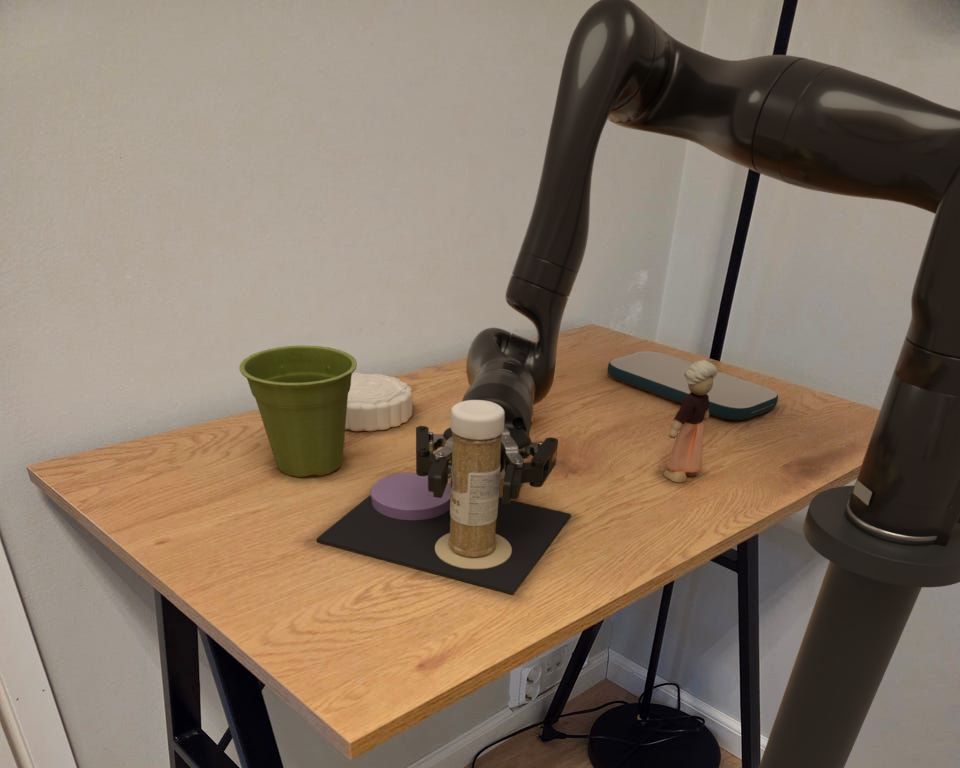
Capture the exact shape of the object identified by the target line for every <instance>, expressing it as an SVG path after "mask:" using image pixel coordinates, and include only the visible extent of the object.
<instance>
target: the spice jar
mask: <svg viewBox="0 0 960 768" xmlns="http://www.w3.org/2000/svg"><path fill="white" fill-rule="evenodd" d="M504 418H505V412H504V410H503V408H502V407H501V406H499V405H498V404H496V403H493V402H490V401H484V400H467V401H462V400H461V401H459V402H457V403H455V404H453V406H452V407H451V409H450V427H451V430H452V435H453V438H452V440H453V442H452V443H453V447H452V467H451V477H450V485H451V497H450V516H451V522H450V537H449V546H450V548H451V549H452V551H454V552H455V553H457V554H459V555H462V556H466V557H478V556H484V555H487V554H490V553H491V552H493V551H494V549H495V548H496V539H495V531H496V519H497V513H498V499H499V497H500V484H501V483H500V482H501V477H500V466H501V465H500V452H501V437H502V435H503V431H504Z"/></svg>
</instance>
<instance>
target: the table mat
mask: <svg viewBox="0 0 960 768" xmlns="http://www.w3.org/2000/svg"><path fill="white" fill-rule="evenodd" d="M571 516H572V513H569V512H565V511H561V510H555V509H551V508H547V507H544V506H539V505H534V504H530V503H526V502H521V501H517V500H512V499H511V501H510V505H508V504H502V497H500V496H499V499H498V513H497V519H496V531H495V539H496V548H495V549H494V551H493V552H491V553H490V554H487V555H484V556H478V557H466V556H462V555H459V554H457V553H455V552H454V551H452V549H451V548H450V546H449V537H450V522H451V516H450V509H449V510H448V511H447V512H446V513H444V514H442V515H440V516H437V517H434V518H431V519H425V520H400V519H395V518H391V517H388V516H385V515H383V514H381V513H379V512H378V511H376V510H375V509H374V507H373V506H372V503H371V494H369V495H368V496H367V497H366V498H364V499H363V500H362V501H361V502H359V503H358V504H357V505H355V507H353V508H352V509H351V510H349V511H348V512H347V513H346V514H345V515H343V516H342V517H341V518H340V519H338V521H336V522H334V524H332V525H331V526H330V527H328V529H326V530H325V531H324V532H323V533H321V534H320V535H319V536H318V537H316V538H315V539H316V543H318V544H321V545H326V546H329V547H334V548H336V549H341V550H345V551H348V552H352V553H356V554H360V555H363V556H367V557H371V558H375V559H378V560H382V561H385V562H389V563H393V564H396V565H401V566H404V567H408V568H412V569H416V570H419V571H423V572H427V573H430V574H434V575H438V576H441V577H445V578H449V579H454V580H456V581H460V582H462V583H463V582H464V583H467V584H471V585H474V586H479V587H482V588H486V589H489V590H492V591H497V592H501V593H505V594H509V595H511V596H513V595H514V594H515V593H516V592H517V590H518V589H519V587H520V586H521V584H522V583H523V582H524V581H525V579H526V578H527V576H528V575H529V574H530V573H531V571H532V570H533V569H534V567H535V566H536V565H537V563H538V562H539V560H541V558H542V557H543V555H544V554H545V553H546V551H547V550H548V549H549V547H550V546H551V544H552V543H553V542H554V540H555V539H556V538H557V536H558V535H559V534H560V532H561V531H562V530H563V529H564V527H565V525H566V524H567V523H568V522H569V520H570V519H571V518H572V517H571Z"/></svg>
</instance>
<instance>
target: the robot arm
mask: <svg viewBox="0 0 960 768" xmlns="http://www.w3.org/2000/svg"><path fill="white" fill-rule="evenodd" d="M607 121H609V122H610V123H613V124H614V125H616V126H619V127H622V128H626V129H631V130H636V131H641V132H647V133H653V134H659V135H662V136H667V137H668V136H669V137H673V138H676V139H677V138H679V139H682V140H685V141H689V142H693V143H695V144H697V145H699V146H701V147H703V148H705V149H707V150H709V151H710V152H712V153H713V154H716V155H717V156H719V157H722V158H723V159H726V160H727V161H730V162H732V163H734V164H736V165H739V166H742V167H744V168H746V169H749V170H751V171H753V172H756V173H757V174H760V175H763V176H766V177H769V178H770V179H774V180H776V181H780V182H782V183H785V184H788V185H791V186H793V187H798V188H803V189H806V190H810V191H815V192H821V193H826V194H833V195H838V196H839V195H840V196H846V197H854V198H862V199H871V200H881V201H889V202H894V203H899V204H900V203H901V204H905V205H908V206H912V207H916V208H918V209H921V210H924V211H927V212H929V213H932V214H934V218H933V221H932V224H931V227H930V230H929V234H928V237H927V240H926V244H925V247H924V251H923V255H922V257H921V260H920V264H919V267H918V271H917V274H916V277H915V281H914V284H913V288H912V293H911V298H910V299H911V300H910V309H911V310H910V311H911V317H910V322H909V325H908V328H907V332H906V335H905V337H904V340H903V343H902V346H901V348H900V351H899V354H898V358H897V360H896V363H895V366H894V369H893V372H892V375H891V378H890V381H889V384H888V386H887V389H886V393H885V395H884V398H883V401H882V404H881V407H880V409H879V410H880V411H879V412H878V416H877V418H876V422H875V425H874V427H873V430H872V433H871V436H870V439H869V443H868V446H867V448H866V451H865V454H864V457H863V459H862V463H861V466H860V468H859V471H858V473H857V474H858V475H857V478H856V481H855V482H854V483H855V484H854V485H855V486H854V485H853V486H854V489H853V490H852V493H851V496H850V499H849V501H848V503H847V506H846V509H845V515H846V518H847V519H848V521H849V522H850V523H851V524H852V525H854V526H855V527H856V528H858V529H859V530H861V531H863V532H865V533H867V534H869V535H871V536H873V537H876V538H879V539H882V540H885V541H889V542H893V543H898V544H904V545H914V546H923V545H933V544H934V545H940V546H947V544H948V541H949V539H950V537H951V534H952V532H953V530H954V528H955V525H956V523H959V524H960V110H959V109H955V108H953V107H952V108H951V107H948V106H945V105H942V104H940V103H937V102H935V101H931V100H929V99H927V98H925V97H922V96H920V95H918V94H916V93H912V92H910V91H908V90H906V89H904V88H900V87H898V86H895V85H892V84H890V83H887V82H884V81H882V80H879V79H876V78H873V77H870V76H868V75H863V74H861V73H858V72H856V71H852V70H849V69H847V68H843V67H841V66H836V65H832V64H828V63H825V62H821V61H818V60H817V61H816V60H814V59H809V58H806V57H801V56H796V55H788V54H787V55H786V54H769V55H761V56H756V57H751V58H746V59H739V60H731V59H730V60H729V59H723V58H721V57H720V58H719V57H716V56H713V55H711V54H708V53H705V52H703V51H700V50H697V49H696V48H693V47H691V46H689V45H687V44H685V43H682V42H681V41H680V40H677V39H676V38H674V37H673V36H671V35H670V34H669V33H668V32H667V31H665V29H663V28H662V27H661V26H660V25H659V24H658V23H657V22H656V21H655V20H654V19H653V18H652V17H651V16H649V14H647V13H646V11H644V10H643V9H642V8H641V7H639V6H638V5H637V4H636V3H635V2H633V1H632V0H598V1H596V2H594V4H592V5H591V6H590V7H589V8H588V9H587V10H586V11H585V13H584V14H583V15H582V17H581V18H580V19H579V21H578V23H577V25H576V26H575V28H574V30H573V32H572V34H571V36H570V40H569V43H568V46H567V49H566V53H565V57H564V61H563V65H562V68H561V74H560V78H559V84H558V88H557V94H556V99H555V105H554V110H553V114H552V119H551V123H550V128H549V134H548V138H547V144H546V148H545V154H544V158H543V164H542V170H541V175H540V179H539V180H540V181H539V183H538V188H537V193H536V196H535V200H534V204H533V208H532V211H531V215H530V219H529V222H528V225H527V228H526V231H525V235H524V237H523V240H522V242H521V245H520V248H519V252H518V255H517V257H516V260H515V263H514V265H513V269H512V272H511V275H510V277H509V280H508V284H507V286H506V289H505V296H504V297H505V302H506V303H507V305H508V306H509V307H510V308H512V309H513V310H514V311H516V312H517V313H519V314H521V316H524V317H525V318H526V319H527V320H529V321H530V322H531V323H532V325H534V327H535V329H536V333H537V335H536V336H537V338H536V341H533V340H532V339H529V338H526V337H523V336H521V335H518V334H515V333H513V332H511V331H508V330H506V329H503V328H500V327H488V328H484V329H483V330H481V331H480V332H478V333H477V334H476V336H475V337H474V338H473V339H472V341H471V344H470V346H469V349H468V352H467V357H466V377H467V382H468V385H469V386H468V388H467V389H466V391H465V393H464V395H463V398H462V400H461V402H462V401H467V400H484V401H490V402H493V403H496V404H498V405H499V406H501V407H502V408H503V410H504V412H505V418H504V431H503V435H502V437H501V452H500V465H501V466H500V480H502V492H501V498H502V504H508V505H510V501H511V500H513V501H517V500H518V499H519V498H520V494H521V489H522V487H523V486H524V484H527V483H528V484H529V486H530V487H533V488H541V487H543V485H545V482H546V481H547V479H548V478H549V476H550V475H551V473H552V471H553V470H554V469H555V467H556V465H557V458H558V457H557V456H558V446H559V439H558V438H556V437H553V436H552V437H546V438H545V439H544V441H538V442H532V438H531V437H530V436H529V435H530V431H531V429H532V426H533V417H534V405H537V404H539V403H541V402H542V401H543V400H544V399H545V398H546V397H547V396H548V395H549V393H550V392H551V389H552V386H553V384H554V379H555V374H556V363H557V351H558V344H559V335H560V330H561V324H562V321H563V317H564V313H565V310H566V306H567V303H568V301H569V297H570V296H571V293H572V290H573V287H574V285H575V282H576V280H577V276H578V274H579V271H580V270H581V266H582V263H583V260H584V257H585V254H586V249H587V245H588V240H589V232H590V231H589V230H590V213H591V190H592V178H593V171H594V164H595V159H596V158H595V157H596V153H597V150H598V146H599V143H600V140H601V136H602V134H603V131H604V128H605V126H606V124H607ZM429 429H430V428H429V427H428V426H426V425H419V426H416V428H415V462H416V463H415V473H416V474H417V475H418V476H428V490H429V491H430V492H433V496H434V497H437V498H442V496H443V493H444V491H445V488H446V485H447V483H449V479H451V467H452V447H453V443H452V442H453V440H452V438H453V435H452V430H451V426H450V427H449V428H446V429H445V430H444V431H443V433H434V432H433V431H430V430H429ZM530 456H531V457H532V458H531V461H528V462H527V461H526V462H525V460H526V459H528V458H529V457H530Z"/></svg>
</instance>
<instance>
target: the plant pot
mask: <svg viewBox="0 0 960 768" xmlns="http://www.w3.org/2000/svg"><path fill="white" fill-rule="evenodd" d="M357 367H358V361H357V359H356V358H355V357H354V356H353V355H352V354H350V353H348V352H346V351H344V350H341V349H337V348H333V347H329V346H323V345H322V346H321V345H286V346H279V347H272V348H268V349H265V350H261V351H258V352H255V353H252V354H250V355H249V356H247V357H246V358H244V359H243V360H241V362H240V364H239V372H240V374H241V375H242V376H243V377H244V378H246V380H247V383H248V385H249V386H248V387H249V389H250V392H251V394H252V396H253V397H254V398H255V402H256V405H257V407H258V411H259V414H260V418H261V420H262V424H263V427H264V431H265V434H266V437H267V440H268V443H269V446H270V449H271V454H272V456H273V459H274V463H275V465H276V467H277V469H278V470H279V471H281V472H282V473H284V474H285V475H289V476H292V477H297V478H306V477H308V476H311V475H317V476H325V475H328V474H330V473H333V472H334V471H337V469H339V468H340V467H341V465H342V464H343V457H344V445H345V435H346V430H345V423H346V412H347V400H348V392H349V391H350V386H351V376H352V373H355V371H356V370H357Z"/></svg>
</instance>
